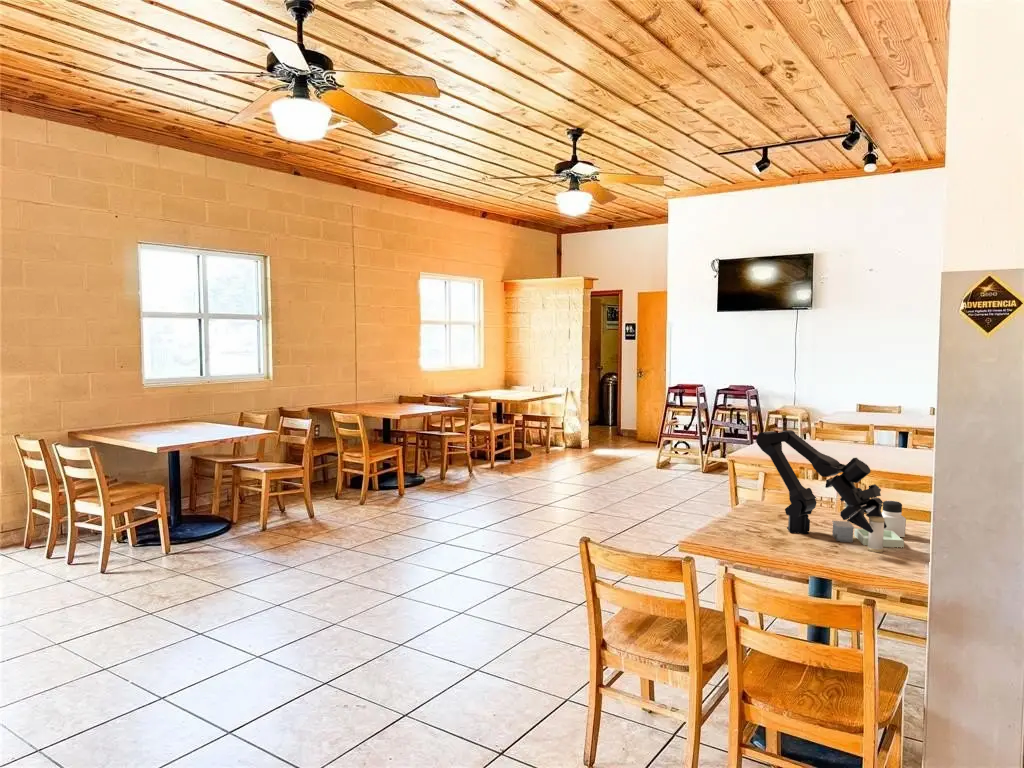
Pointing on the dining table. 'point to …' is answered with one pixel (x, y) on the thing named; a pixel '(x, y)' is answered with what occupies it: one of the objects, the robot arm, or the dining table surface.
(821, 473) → the robot arm
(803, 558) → the dining table surface
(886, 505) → the medicine bottle
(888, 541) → the tray
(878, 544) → the fuse
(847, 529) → the box
